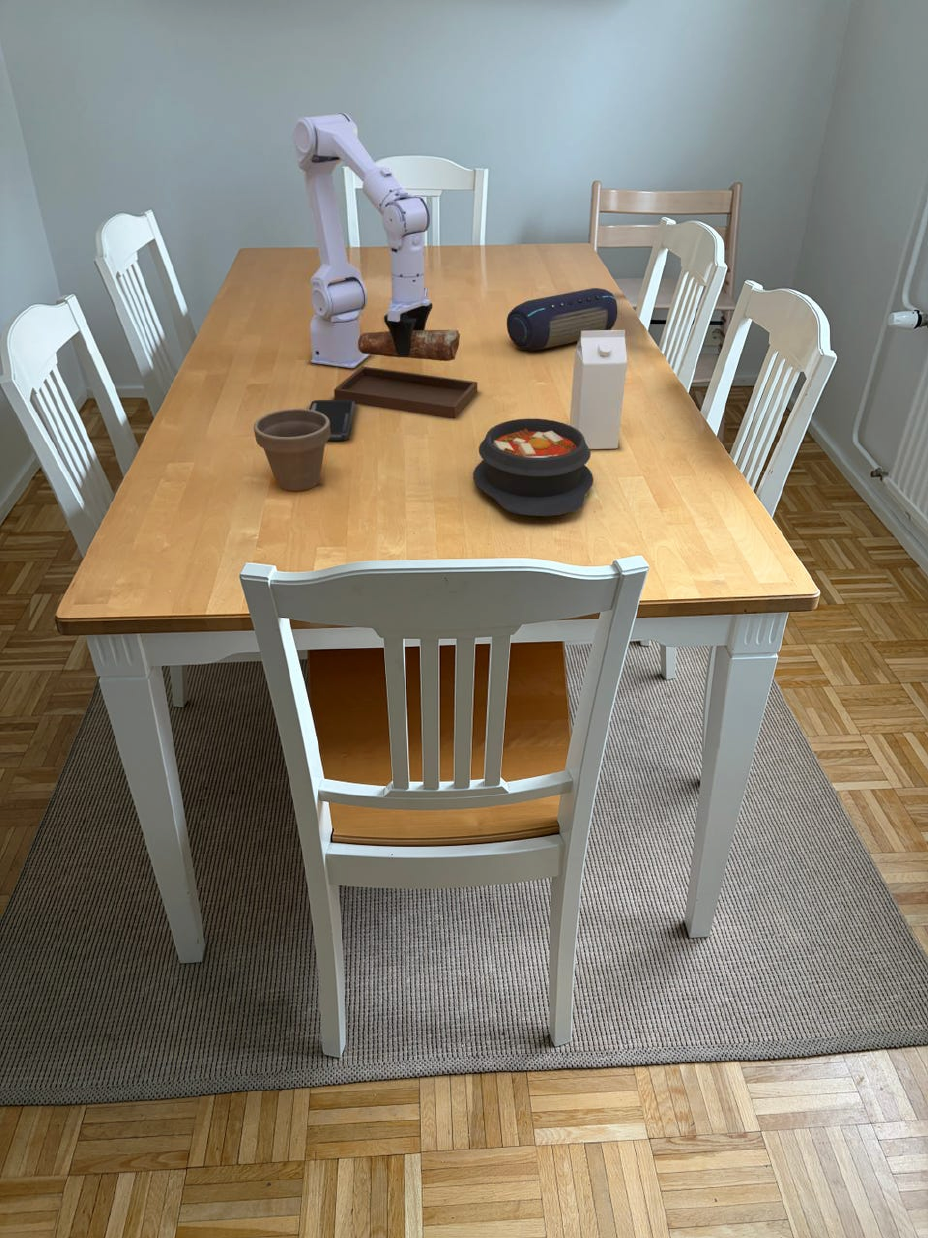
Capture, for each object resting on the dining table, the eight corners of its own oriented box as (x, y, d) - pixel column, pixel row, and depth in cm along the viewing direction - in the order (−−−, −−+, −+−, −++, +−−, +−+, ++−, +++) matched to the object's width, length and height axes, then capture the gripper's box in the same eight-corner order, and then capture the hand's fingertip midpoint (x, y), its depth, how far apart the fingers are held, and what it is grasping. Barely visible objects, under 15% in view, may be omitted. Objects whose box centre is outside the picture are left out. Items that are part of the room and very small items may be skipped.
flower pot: (264, 466, 153) (257, 407, 147) (335, 464, 154) (331, 406, 148) (257, 500, 144) (249, 439, 138) (332, 498, 144) (328, 437, 139)
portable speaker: (528, 360, 193) (531, 311, 187) (500, 346, 200) (502, 297, 194) (623, 338, 204) (628, 291, 198) (594, 325, 211) (598, 279, 205)
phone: (301, 434, 160) (312, 399, 172) (302, 440, 161) (312, 405, 173) (348, 434, 160) (355, 399, 172) (349, 440, 161) (356, 405, 173)
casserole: (608, 524, 139) (614, 472, 134) (482, 530, 137) (483, 477, 132) (575, 450, 159) (579, 403, 154) (465, 454, 157) (465, 406, 153)
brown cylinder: (456, 366, 171) (456, 336, 167) (354, 357, 174) (352, 327, 171) (463, 354, 176) (464, 324, 172) (364, 346, 179) (363, 316, 176)
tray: (334, 400, 176) (333, 389, 174) (362, 376, 185) (362, 365, 184) (454, 418, 169) (455, 407, 168) (477, 392, 179) (477, 382, 178)
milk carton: (568, 432, 165) (577, 323, 154) (608, 431, 165) (620, 322, 154) (575, 450, 159) (585, 338, 148) (617, 449, 160) (630, 337, 149)
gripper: (413, 286, 159) (415, 365, 167) (443, 264, 171) (443, 339, 178) (374, 282, 161) (378, 360, 169) (406, 260, 172) (408, 334, 180)
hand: (409, 349), depth 174 cm, fingers closed on brown cylinder, 6 cm apart
